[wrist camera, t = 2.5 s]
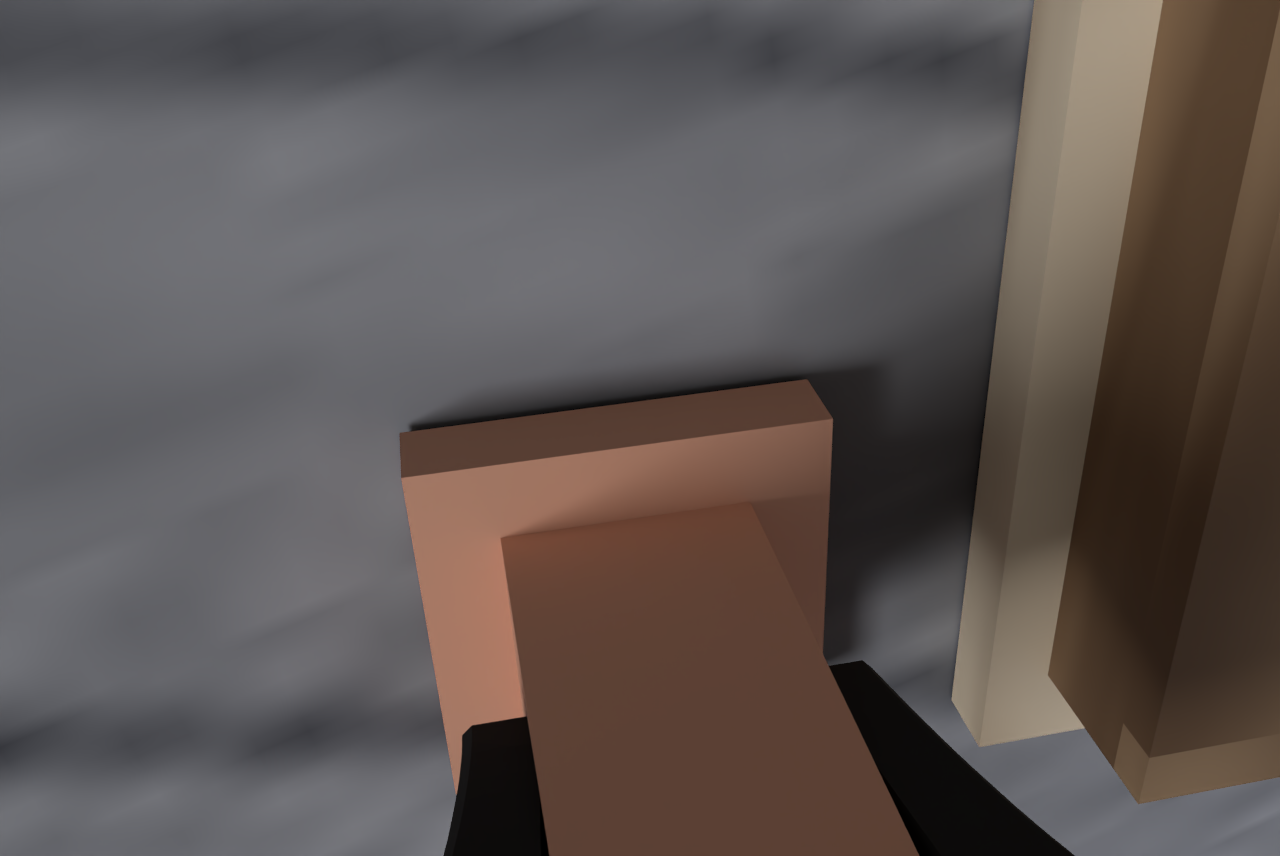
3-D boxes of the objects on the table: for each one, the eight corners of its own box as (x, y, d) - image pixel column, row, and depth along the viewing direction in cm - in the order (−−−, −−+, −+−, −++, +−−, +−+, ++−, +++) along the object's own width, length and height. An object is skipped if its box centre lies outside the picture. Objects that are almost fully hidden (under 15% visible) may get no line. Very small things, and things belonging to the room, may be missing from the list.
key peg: (806, 378, 15) (1163, 923, 8) (798, 682, 18) (1064, 1288, 11) (399, 433, 14) (423, 1075, 8) (452, 739, 17) (504, 1424, 10)
